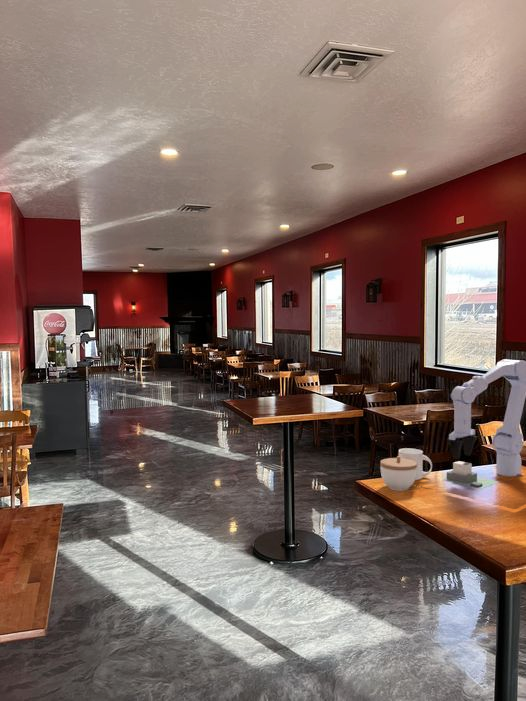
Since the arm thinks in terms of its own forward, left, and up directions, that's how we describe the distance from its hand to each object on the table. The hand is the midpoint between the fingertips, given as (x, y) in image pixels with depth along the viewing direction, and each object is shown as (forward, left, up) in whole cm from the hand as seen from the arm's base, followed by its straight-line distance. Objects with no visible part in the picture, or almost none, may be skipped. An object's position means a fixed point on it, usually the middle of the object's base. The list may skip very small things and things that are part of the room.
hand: (462, 456), depth 202 cm
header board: (-1, +3, -9) cm, 10 cm away
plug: (-2, 0, -8) cm, 9 cm away
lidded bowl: (+23, -11, -10) cm, 27 cm away
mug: (+10, -13, -10) cm, 19 cm away
